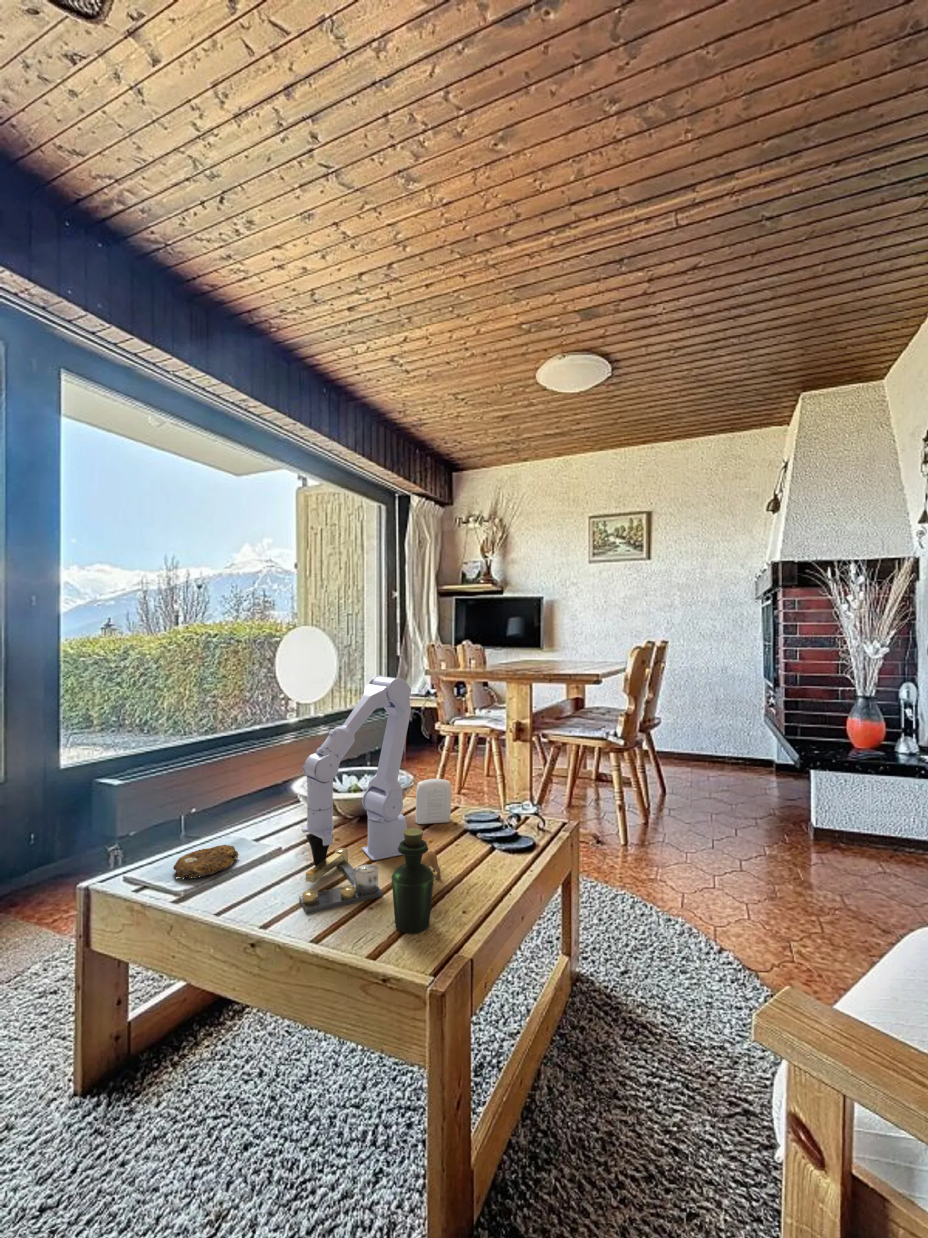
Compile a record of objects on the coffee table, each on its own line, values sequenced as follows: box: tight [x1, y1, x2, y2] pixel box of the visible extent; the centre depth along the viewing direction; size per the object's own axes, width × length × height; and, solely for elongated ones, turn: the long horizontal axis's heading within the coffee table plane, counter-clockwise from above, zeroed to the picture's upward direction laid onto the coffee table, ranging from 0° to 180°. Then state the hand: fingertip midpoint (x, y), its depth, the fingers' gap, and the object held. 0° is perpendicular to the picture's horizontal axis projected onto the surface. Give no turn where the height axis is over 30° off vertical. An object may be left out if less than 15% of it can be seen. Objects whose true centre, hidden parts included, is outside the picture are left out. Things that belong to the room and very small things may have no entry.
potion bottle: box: [391, 827, 435, 935], centre depth 111 cm, size 8×8×18 cm
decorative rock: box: [172, 844, 240, 879], centre depth 135 cm, size 11×4×15 cm
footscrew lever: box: [305, 847, 349, 884], centre depth 132 cm, size 14×3×3 cm, turn 161°
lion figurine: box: [420, 850, 442, 881], centre depth 127 cm, size 15×5×9 cm, turn 164°
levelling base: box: [298, 861, 383, 915], centre depth 126 cm, size 16×18×6 cm
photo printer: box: [415, 778, 452, 825], centre depth 167 cm, size 10×4×12 cm, turn 104°
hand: (319, 865), depth 133 cm, fingers closed, pressing on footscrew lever
